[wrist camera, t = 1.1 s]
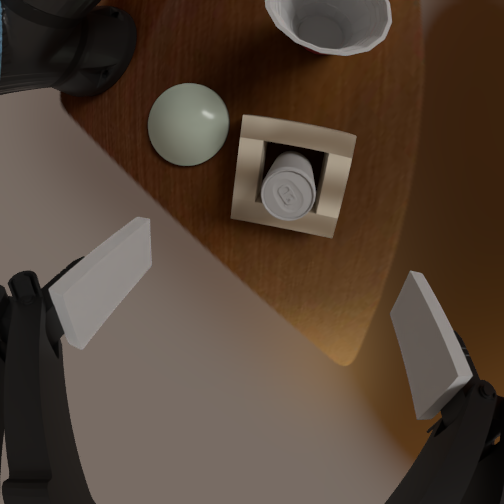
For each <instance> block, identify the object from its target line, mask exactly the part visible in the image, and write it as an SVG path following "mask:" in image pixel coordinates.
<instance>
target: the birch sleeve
mask: <svg viewBox="0 0 504 504" xmlns="http://www.w3.org/2000/svg"><path fill="white" fill-rule="evenodd" d="M356 137H357V136H355V135H353V134H350V133H347V132H343V131H339V130H334V129H330V128H325V127H321V126H316V125H311V124H306V123H301V122H296V121H290V120H284V119H278V118H272V117H265V116H257V115H243V119H242V126H241V134H240V142H239V150H238V158H237V167H236V175H235V184H234V192H233V201H232V210H231V219H237V220H242V221H248V222H253V223H258V224H264V225H269V226H274V227H279V228H284V229H289V230H294V231H299V232H304V233H309V234H314V235H319V236H324V237H328V238H332V237H333V234H334V230H335V226H336V223H337V219H338V215H339V211H340V207H341V203H342V199H343V195H344V191H345V187H346V183H347V179H348V174H349V170H350V165H351V161H352V156H353V152H354V147H355V142H356ZM268 141H269V142H275V143H281V144H287V145H292V146H298V147H303V148H308V149H313V150H317V151H322V152H325V153H324V158H323V163H322V168H321V173H320V177H319V182H318V187H317V192H316V197H315V202H314V204H313V206H312V208H311V210H310V211H309V212H308V213H307V214H306V215H305V216H303V217H302V218H300V219H297V220H292V221H285V220H280V219H278V218H275V217H274V216H272V215H271V214H270V213H269V212H268V211H267V210H266V209H265V207H264V205H263V203H262V199H261V185H262V179H263V172H264V165H265V159H266V152H267V145H268Z"/></svg>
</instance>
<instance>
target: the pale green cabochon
mask: <svg viewBox="0 0 504 504" xmlns="http://www.w3.org/2000/svg"><path fill="white" fill-rule="evenodd" d="M229 125H230V120H229V113H228V110H227V107H226V105H225V103H224V101H223V100H222V98H221V97H220V96H219V95H218V94H217V93H216V92H215V91H213V90H212V89H210V88H208V87H206V86H203V85H199V84H194V83H184V84H179V85H176V86H174V87H171V88H169V89H168V90H166V91H165V92H164V93H163V94H161V95H160V97H159V98H158V99H157V100H156V102H155V103H154V105H153V107H152V109H151V111H150V115H149V119H148V132H149V137H150V140H151V143H152V145H153V147H154V148H155V150H156V151H157V152H158V153H159V154H160V155H161V156H162V157H163V158H164V159H166V160H167V161H169V162H171V163H173V164H177V165H181V166H192V165H197V164H200V163H202V162H204V161H206V160H208V159H210V158H211V157H213V156H214V155H215V154H216V153H217V152H218V151H219V150H220V149H221V148H222V146H223V145H224V143H225V141H226V139H227V136H228V132H229Z"/></svg>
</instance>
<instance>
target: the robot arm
mask: <svg viewBox="0 0 504 504" xmlns="http://www.w3.org/2000/svg"><path fill="white" fill-rule="evenodd" d="M100 1H101V0H0V95H2V94H7V93H13V92H19V91H25V90H31V89H38V88H48V87H52V88H54V89H57V90H59V91H62V92H64V93H67V94H69V95H72V96H77V97H84V96H94V95H97V94H100V93H102V92H104V91H106V90H107V89H108V88H110V87H111V86H112V85H113V84H114V83H115V82H116V81H117V80H118V79H119V78H120V77H121V76H122V74H123V73H124V71H125V70H126V68H127V67H128V65H129V63H130V61H131V58H132V56H133V53H134V50H135V45H136V37H137V33H136V26H135V23H134V21H133V19H132V17H131V16H130V15H129V14H128V13H127V12H125V11H124V10H121V9H119V8H116V7H113V6H96V5H97V4H98V3H99V2H100ZM151 266H152V259H151V239H150V219H147V218H142V217H136V218H135V219H133V220H132V221H131V222H129V223H128V224H127V225H125V226H124V227H123V228H121V229H120V230H119V231H117V232H116V233H115V234H113V235H112V236H111V237H109V238H108V239H107V240H106V241H104V242H103V243H102V244H101V245H99V246H98V247H97V248H96V249H94V250H93V251H92V252H91V253H89V254H88V255H87V256H86V257H81V258H79V259H77V260H75V261H73V262H72V263H71V264H69V265H68V266H67V267H66V269H63V270H62V271H61V272H60V274H58V275H56V276H55V277H54V278H53V279H52V280H51V281H50V282H48V283H47V284H46V285H45V286H44V287H43V288H42V289H41V288H40V285H39V282H38V278H37V275H36V274H35V273H34V272H33V271H23V272H19V273H17V274H16V275H14V276H13V277H12V278H11V279H10V280H9V282H8V285H9V288H10V291H11V293H12V296H13V297H11V296H8V295H7V293H6V290H5V288H4V287H3V286H1V285H0V472H1V456H2V444H3V436H4V429H5V442H6V452H7V459H8V467H9V479H7V480H6V481H4V482H3V485H2V495H3V500H4V504H96V503H95V502H94V500H93V499H92V497H91V495H90V492H89V489H88V486H87V483H86V480H85V476H84V473H83V470H82V467H81V463H80V459H79V455H78V451H77V447H76V443H75V439H74V434H73V430H72V425H71V419H70V414H69V408H68V401H67V394H66V387H65V378H64V368H63V354H62V344H61V340H60V338H61V336H62V335H63V334H65V336H66V338H67V341H68V343H69V344H71V345H73V346H75V347H77V348H79V349H81V350H83V349H84V347H85V346H86V345H87V343H88V342H89V341H90V339H91V338H92V337H93V336H94V334H95V333H96V332H97V331H98V329H99V328H100V327H101V325H102V324H103V323H104V322H105V320H106V319H107V318H108V317H109V316H110V314H111V313H112V312H113V311H114V309H115V308H116V307H117V306H118V305H119V303H120V302H121V301H122V300H123V299H124V297H125V296H126V295H127V294H128V293H129V292H130V290H131V289H132V288H133V287H134V286H135V284H136V283H137V282H138V281H139V280H140V279H141V277H142V276H143V275H144V274H145V273H146V272H147V271H148V270H149V268H150V267H151ZM390 316H391V319H392V322H393V325H394V328H395V332H396V335H397V338H398V342H399V345H400V349H401V353H402V356H403V360H404V363H405V368H406V371H407V376H408V380H409V383H410V388H411V392H412V397H413V402H414V407H415V412H416V417H417V420H423V419H432V418H433V417H434V416H435V415H436V414H437V413H438V412H439V411H441V414H442V418H441V419H440V420H438V421H437V422H436V423H435V424H434V425H433V426H432V427H431V428H429V429H428V431H427V433H429V432H430V431H431V430H433V431H432V433H431V435H430V437H429V439H428V440H427V442H426V444H425V446H424V447H423V449H422V450H421V452H420V454H419V455H418V457H417V459H416V460H415V462H414V463H413V465H412V467H411V468H410V469H409V471H408V473H407V474H406V476H405V477H404V478H403V480H402V481H401V483H400V484H399V485H398V487H397V488H396V489H395V491H394V492H393V493H392V495H391V496H390V497H389V499H388V500H387V501H386V503H385V504H504V397H500V396H498V395H496V391H495V389H494V388H493V386H492V385H491V384H490V383H489V382H487V381H485V380H480V379H479V376H478V374H477V371H476V369H475V366H474V364H473V362H472V360H471V357H470V356H469V353H468V351H467V349H466V346H465V344H464V342H463V340H462V338H461V337H460V336H459V335H458V333H457V332H456V331H453V329H452V327H451V326H450V323H449V321H448V319H447V317H446V315H445V314H444V311H443V310H442V308H441V306H440V304H439V302H438V300H437V298H436V297H435V295H434V293H433V291H432V290H431V288H430V286H429V284H428V283H427V281H426V279H425V277H424V276H423V274H422V273H418V272H413V271H410V272H409V274H408V277H407V279H406V281H405V283H404V285H403V288H402V290H401V292H400V294H399V296H398V298H397V300H396V302H395V304H394V306H393V308H392V310H391V312H390ZM498 436H500V441H499V442H498V443H497V444H496V445H494V440H495V439H496V438H497V437H498Z"/></svg>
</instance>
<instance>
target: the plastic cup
mask: <svg viewBox="0 0 504 504" xmlns="http://www.w3.org/2000/svg"><path fill="white" fill-rule="evenodd" d="M265 7H266V9H267V11H268V13H269V14H270V16H271V18H272V20H273V22H274V23H275V25H276V27H277V28H279V29H280V30H281V31H282V32H284V33H285V34H286V35H287V36H288V37H290V38H291V39H292V40H293V41H294V42H295V43H298V44H300V45H301V46H302V47H304V48H305V49H306V50H307V51H310V52H312V53H314V54H319V55H329V54H335V55H343V56H348V55H353V54H357V53H361V52H366V51H370V50H371V49H372V48H373V47H375V46H376V45H377V44H379V43H380V42H381V41H383V40H384V39H385V37H386V35H387V33H388V30H389V28H390V26H391V23H392V17H391V9H390V2H389V1H388V0H265Z"/></svg>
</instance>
